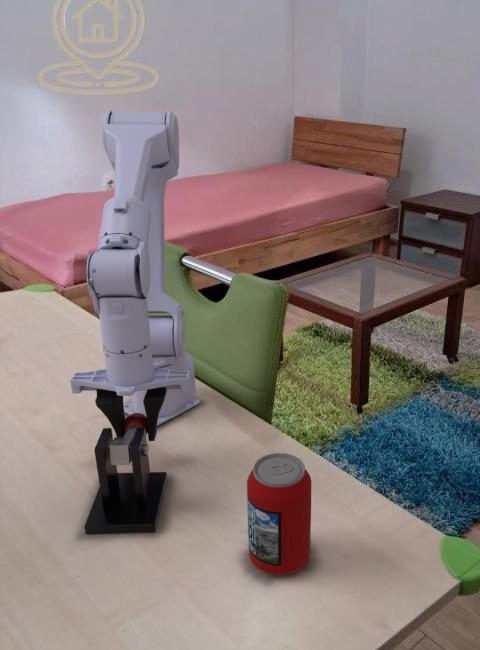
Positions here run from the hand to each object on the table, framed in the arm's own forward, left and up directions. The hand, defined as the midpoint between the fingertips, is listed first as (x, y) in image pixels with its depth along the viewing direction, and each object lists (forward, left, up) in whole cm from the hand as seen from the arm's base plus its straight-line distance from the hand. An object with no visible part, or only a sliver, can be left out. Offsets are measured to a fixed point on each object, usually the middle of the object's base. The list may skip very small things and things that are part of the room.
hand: (137, 437), depth 83 cm
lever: (+3, +3, +1) cm, 4 cm away
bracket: (+6, +5, -4) cm, 9 cm away
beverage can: (+1, +25, -5) cm, 26 cm away
